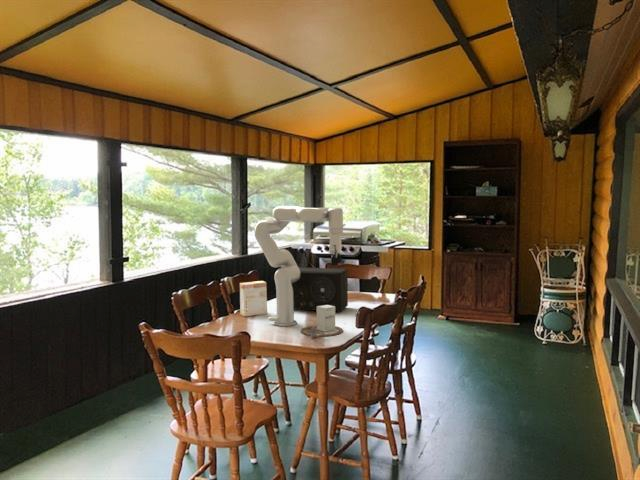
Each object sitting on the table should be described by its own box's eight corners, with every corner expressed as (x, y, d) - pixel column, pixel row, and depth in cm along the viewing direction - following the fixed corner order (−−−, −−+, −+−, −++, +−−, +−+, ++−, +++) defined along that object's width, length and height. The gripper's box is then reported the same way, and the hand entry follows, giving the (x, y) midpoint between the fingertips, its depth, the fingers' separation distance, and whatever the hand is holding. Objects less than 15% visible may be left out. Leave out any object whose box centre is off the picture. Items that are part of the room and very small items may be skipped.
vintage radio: (282, 311, 337) (281, 271, 335) (292, 305, 355) (292, 267, 353) (340, 314, 326) (339, 272, 324) (348, 307, 344) (348, 268, 342)
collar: (291, 336, 273) (291, 327, 273) (308, 325, 298) (308, 316, 298) (333, 339, 266) (333, 329, 266) (347, 327, 291) (347, 318, 291)
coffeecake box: (263, 311, 335) (262, 280, 334) (267, 313, 329) (266, 282, 327) (240, 314, 328) (239, 282, 327) (244, 316, 322) (243, 284, 320)
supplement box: (324, 332, 283) (324, 308, 282) (316, 329, 288) (316, 306, 288) (335, 329, 287) (335, 306, 286) (327, 327, 293) (327, 304, 292)
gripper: (331, 230, 293) (332, 262, 294) (325, 232, 276) (326, 265, 278) (345, 230, 292) (345, 262, 293) (340, 232, 275) (340, 266, 276)
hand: (336, 263), depth 285 cm, fingers open, 9 cm apart
